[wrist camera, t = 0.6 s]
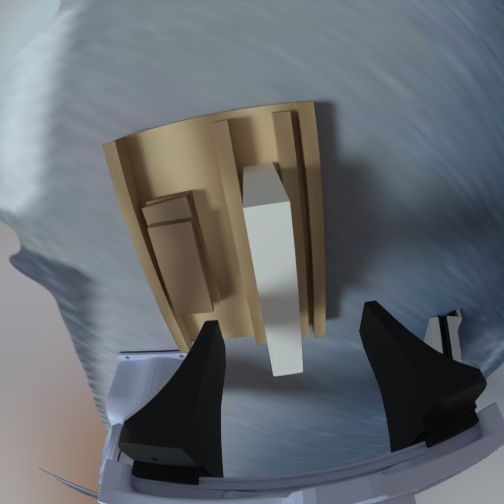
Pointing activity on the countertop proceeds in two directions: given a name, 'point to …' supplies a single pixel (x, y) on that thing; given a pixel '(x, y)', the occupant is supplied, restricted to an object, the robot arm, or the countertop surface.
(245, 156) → the rack
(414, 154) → the countertop surface
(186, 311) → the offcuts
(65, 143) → the countertop surface
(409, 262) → the countertop surface
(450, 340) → the grey curved slab
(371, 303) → the robot arm
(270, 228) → the white rectangular block
